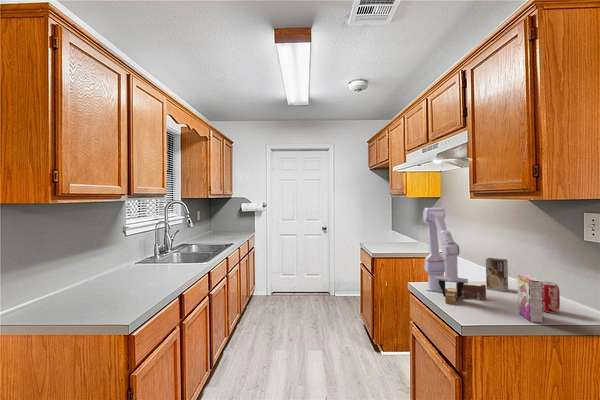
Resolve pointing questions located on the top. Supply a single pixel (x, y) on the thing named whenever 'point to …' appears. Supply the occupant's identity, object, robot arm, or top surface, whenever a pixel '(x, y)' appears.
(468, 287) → the wooden base
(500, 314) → the top surface
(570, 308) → the top surface
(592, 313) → the top surface
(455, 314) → the top surface
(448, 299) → the tan wooden bar
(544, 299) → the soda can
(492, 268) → the coffee box
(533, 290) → the candy bar box
